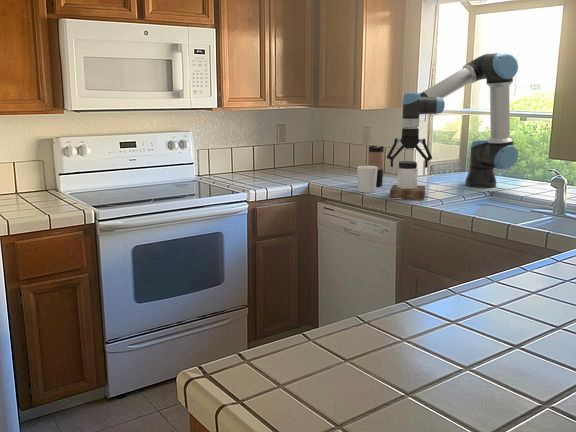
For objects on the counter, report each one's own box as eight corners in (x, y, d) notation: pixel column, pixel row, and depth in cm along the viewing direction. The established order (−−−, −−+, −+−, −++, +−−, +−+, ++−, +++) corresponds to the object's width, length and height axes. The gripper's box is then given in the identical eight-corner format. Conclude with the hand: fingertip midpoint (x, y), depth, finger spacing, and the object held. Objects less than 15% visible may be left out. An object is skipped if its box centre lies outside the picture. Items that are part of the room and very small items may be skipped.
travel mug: (371, 187, 299) (372, 147, 294) (365, 184, 306) (366, 146, 302) (385, 186, 301) (386, 147, 296) (379, 184, 308) (380, 145, 304)
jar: (408, 190, 269) (409, 163, 266) (393, 188, 274) (394, 162, 272) (419, 187, 275) (421, 161, 272) (405, 185, 280) (406, 160, 278)
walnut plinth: (424, 194, 281) (425, 185, 280) (423, 200, 266) (423, 191, 266) (392, 192, 284) (393, 184, 283) (389, 198, 270) (390, 190, 269)
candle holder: (375, 189, 293) (375, 165, 290) (378, 193, 283) (379, 168, 281) (355, 189, 293) (355, 165, 290) (358, 193, 283) (358, 168, 280)
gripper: (381, 128, 268) (380, 174, 273) (438, 128, 262) (436, 176, 266) (383, 126, 275) (382, 172, 280) (439, 127, 269) (436, 173, 273)
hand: (408, 174), depth 273 cm, fingers open, 13 cm apart
